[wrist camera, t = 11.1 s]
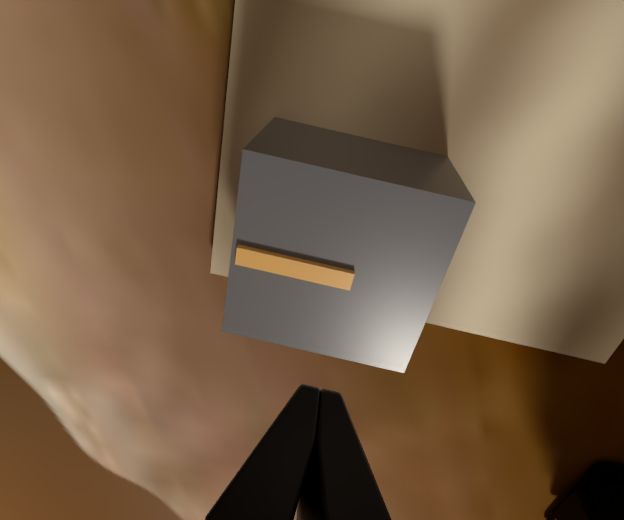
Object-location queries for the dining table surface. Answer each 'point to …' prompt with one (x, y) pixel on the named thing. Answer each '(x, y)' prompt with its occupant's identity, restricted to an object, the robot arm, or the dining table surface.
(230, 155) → the panel
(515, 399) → the dining table surface
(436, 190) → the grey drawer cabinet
